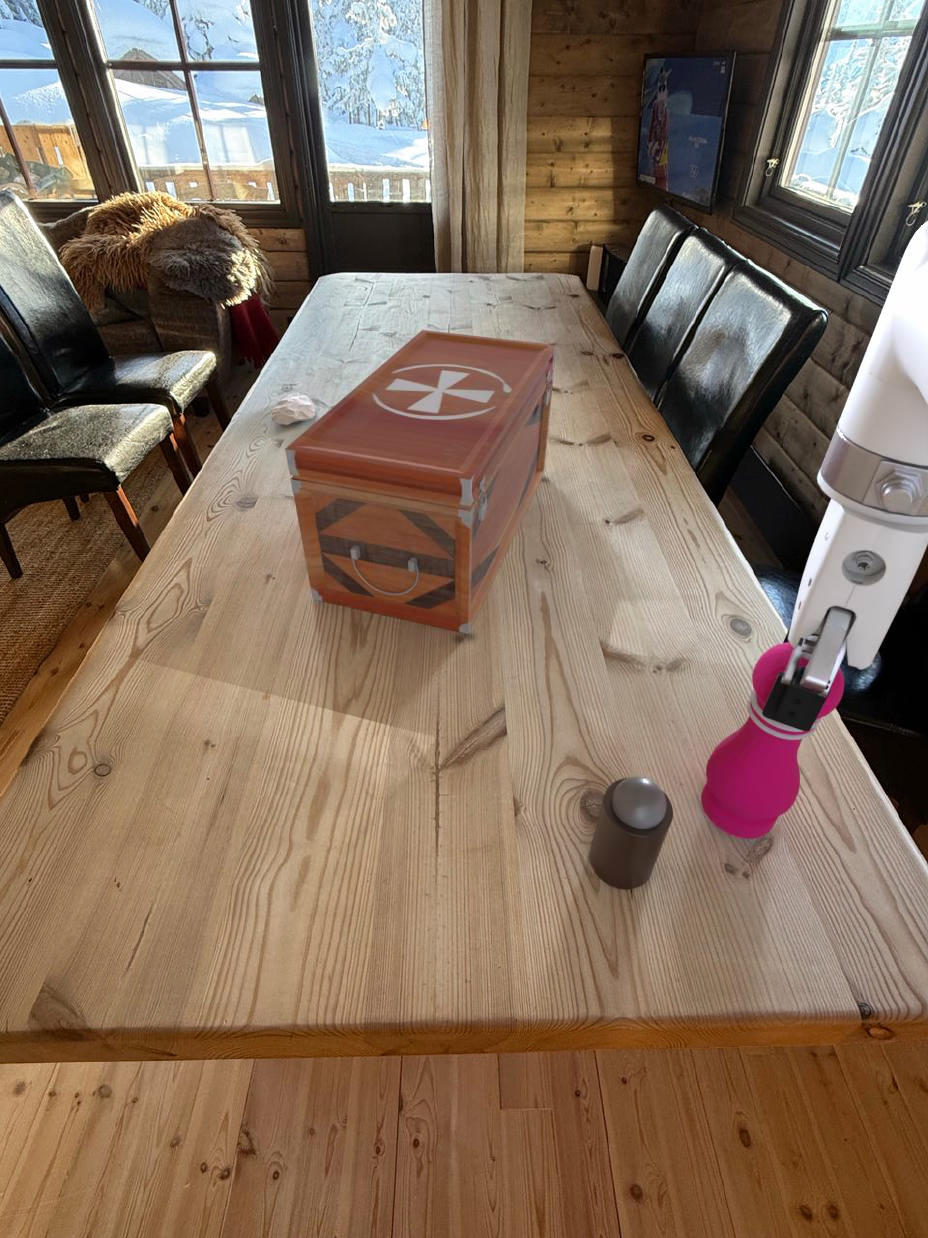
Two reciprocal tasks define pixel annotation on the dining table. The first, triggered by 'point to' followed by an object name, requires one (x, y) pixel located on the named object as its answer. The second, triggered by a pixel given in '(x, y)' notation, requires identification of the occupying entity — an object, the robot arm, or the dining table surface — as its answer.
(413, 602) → the wooden box
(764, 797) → the pepper mill
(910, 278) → the robot arm
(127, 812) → the dining table surface
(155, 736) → the dining table surface
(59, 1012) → the dining table surface
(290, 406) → the stone
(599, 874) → the salt shaker
